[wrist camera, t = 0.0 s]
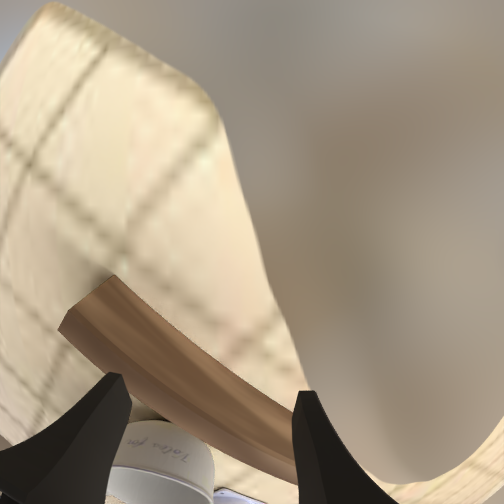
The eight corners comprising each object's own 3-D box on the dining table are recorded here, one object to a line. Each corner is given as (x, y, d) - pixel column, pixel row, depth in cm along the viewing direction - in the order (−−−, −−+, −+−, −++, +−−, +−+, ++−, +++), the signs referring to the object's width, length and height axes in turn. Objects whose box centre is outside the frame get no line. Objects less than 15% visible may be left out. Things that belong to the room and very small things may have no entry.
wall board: (322, 448, 25) (332, 497, 19) (102, 291, 21) (57, 329, 15) (337, 438, 25) (350, 488, 18) (114, 274, 21) (68, 310, 14)
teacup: (201, 402, 24) (185, 471, 16) (233, 466, 26) (228, 524, 18) (82, 404, 25) (50, 453, 17) (127, 464, 27) (108, 510, 19)
